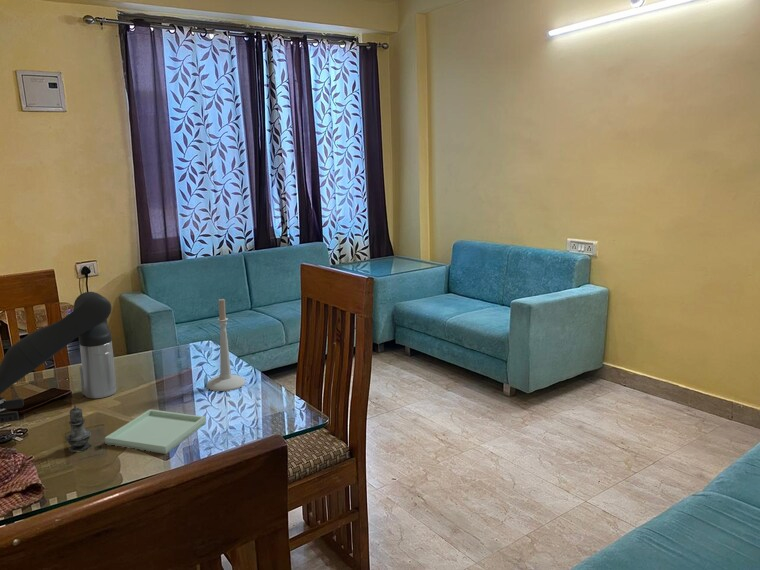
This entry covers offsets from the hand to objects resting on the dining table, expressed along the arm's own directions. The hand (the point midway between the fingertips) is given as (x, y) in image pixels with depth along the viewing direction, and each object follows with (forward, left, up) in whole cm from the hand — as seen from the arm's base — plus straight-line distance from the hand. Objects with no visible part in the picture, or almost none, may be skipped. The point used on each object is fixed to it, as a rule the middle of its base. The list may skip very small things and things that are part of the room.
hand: (20, 409), depth 141 cm
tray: (+23, +21, -13) cm, 34 cm away
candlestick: (+23, +58, -14) cm, 64 cm away
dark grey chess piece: (+9, +8, -14) cm, 18 cm away
